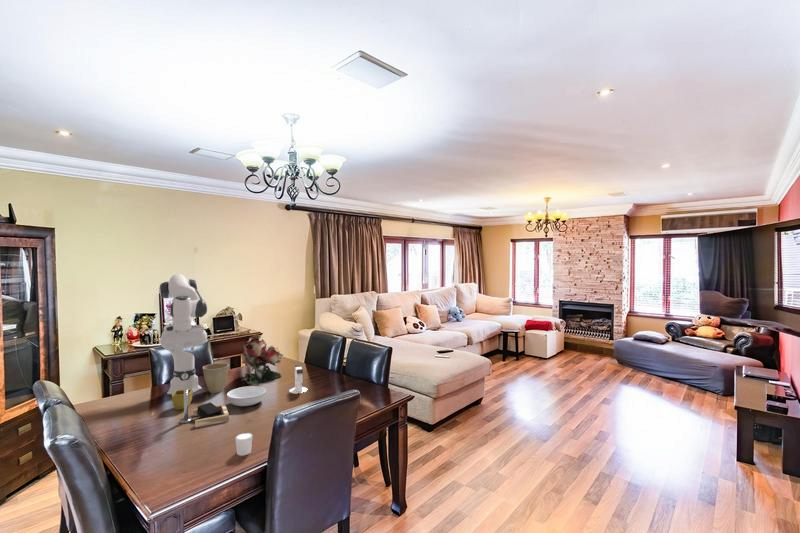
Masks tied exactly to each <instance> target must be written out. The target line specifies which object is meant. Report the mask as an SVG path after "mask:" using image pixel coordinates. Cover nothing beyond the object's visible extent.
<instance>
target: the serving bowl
mask: <svg viewBox="0 0 800 533" xmlns="http://www.w3.org/2000/svg"><path fill="white" fill-rule="evenodd" d="M266 391H267V389H266V388H264V386H263V387H262V386H258V385H249V386H241V387H238V388H233V389H230V391H228V392H227V394H226V397H227V400H228V402H229V403H230V404H231V405H233V406H237V407H249V406H253V405H256V404H258V403H260V402H262V400H263V399H264V398H265V396H266V394H267V393H266Z"/></svg>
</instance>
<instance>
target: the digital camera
mask: <svg viewBox="0 0 800 533" xmlns="http://www.w3.org/2000/svg"><path fill="white" fill-rule="evenodd" d="M197 409H198V410H197V414H198V416H199V417H201V419H204V418H209V417H215V416H220V415H222V412H221V410H220V409H219V408H218V407H216V405H215V404H213V403H212V402H207V403H204V404H200V405H198V406H197Z"/></svg>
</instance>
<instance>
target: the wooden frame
mask: <svg viewBox="0 0 800 533" xmlns="http://www.w3.org/2000/svg"><path fill="white" fill-rule="evenodd" d="M215 406H216V407H218V408H219V409H220V410H221V415H220V416H215V417H209V418H204V419H203V418H200V419H199V418H198V419H195V420H194V427H195V428H200V427H205V426H210V425H211V426H212V425H216V424H220V423H226V422H229V420H230V414H229V412H228V408H227V406H226V405H225V404H224V403H223V404H222V403H221V404H216V405H215ZM197 410H198V408H193V409H192V413H193V414H192V416H193V417H197V416H199V415H198V414H197Z"/></svg>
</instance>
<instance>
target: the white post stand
mask: <svg viewBox="0 0 800 533" xmlns="http://www.w3.org/2000/svg"><path fill="white" fill-rule="evenodd" d="M303 380H304V370H303V368H302V365H300V364H296V365H295V367H294V387H292V388H290V389H289V393H290V394H295V395H297V394H298V393H299V394H303V392H304V393H306V392H308V391H307V390H309V389H308V388H307V387H304V383H303Z"/></svg>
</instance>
